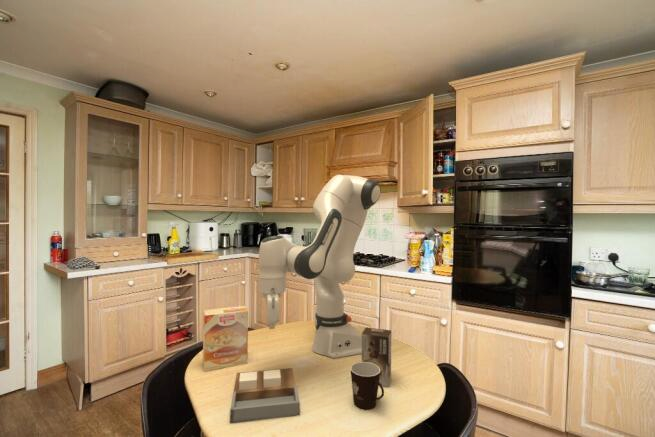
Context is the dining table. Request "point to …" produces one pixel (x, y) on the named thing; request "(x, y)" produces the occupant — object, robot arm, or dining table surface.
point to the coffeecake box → (225, 337)
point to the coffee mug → (365, 384)
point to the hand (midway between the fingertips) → (271, 327)
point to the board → (267, 392)
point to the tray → (264, 408)
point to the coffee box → (378, 351)
